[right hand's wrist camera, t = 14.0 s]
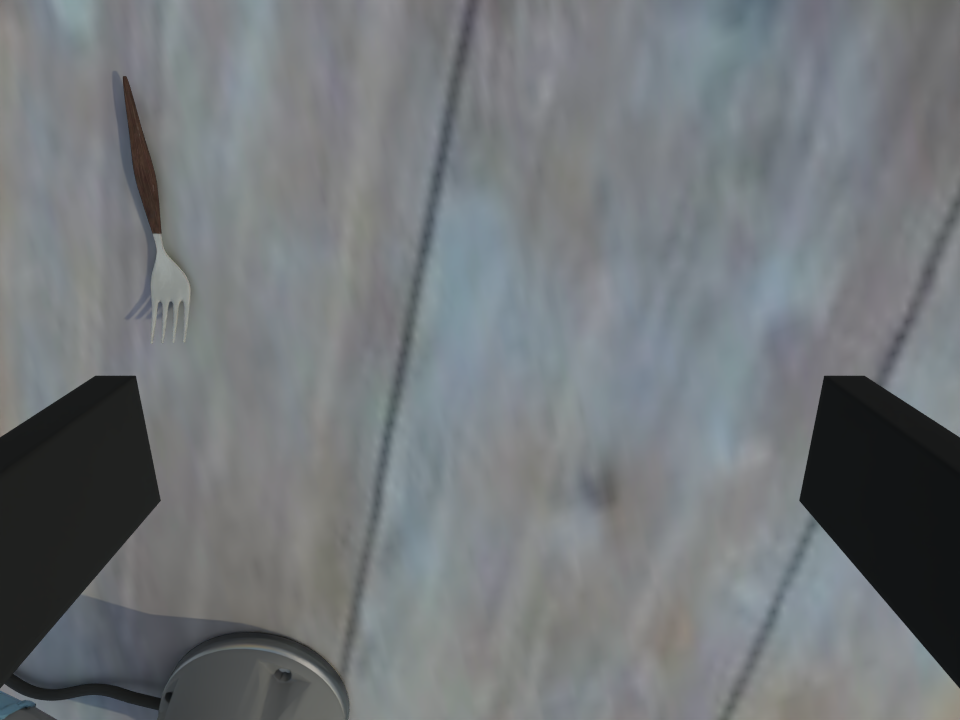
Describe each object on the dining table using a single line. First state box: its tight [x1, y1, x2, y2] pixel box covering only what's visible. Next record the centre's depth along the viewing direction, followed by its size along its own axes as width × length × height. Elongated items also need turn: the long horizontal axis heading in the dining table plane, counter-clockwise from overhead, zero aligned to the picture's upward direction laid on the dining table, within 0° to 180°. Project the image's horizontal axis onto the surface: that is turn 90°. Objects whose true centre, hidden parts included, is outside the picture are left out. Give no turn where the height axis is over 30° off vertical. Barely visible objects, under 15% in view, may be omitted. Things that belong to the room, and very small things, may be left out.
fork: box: [123, 76, 191, 344], centre depth 39 cm, size 3×16×2 cm, turn 2°
